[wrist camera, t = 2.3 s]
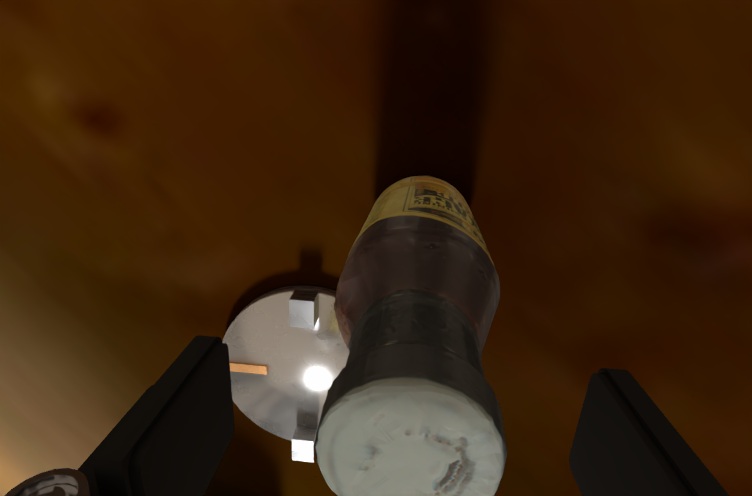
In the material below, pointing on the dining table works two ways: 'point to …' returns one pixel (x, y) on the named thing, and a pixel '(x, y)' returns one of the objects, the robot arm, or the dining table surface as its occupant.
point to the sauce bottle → (414, 353)
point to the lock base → (286, 362)
